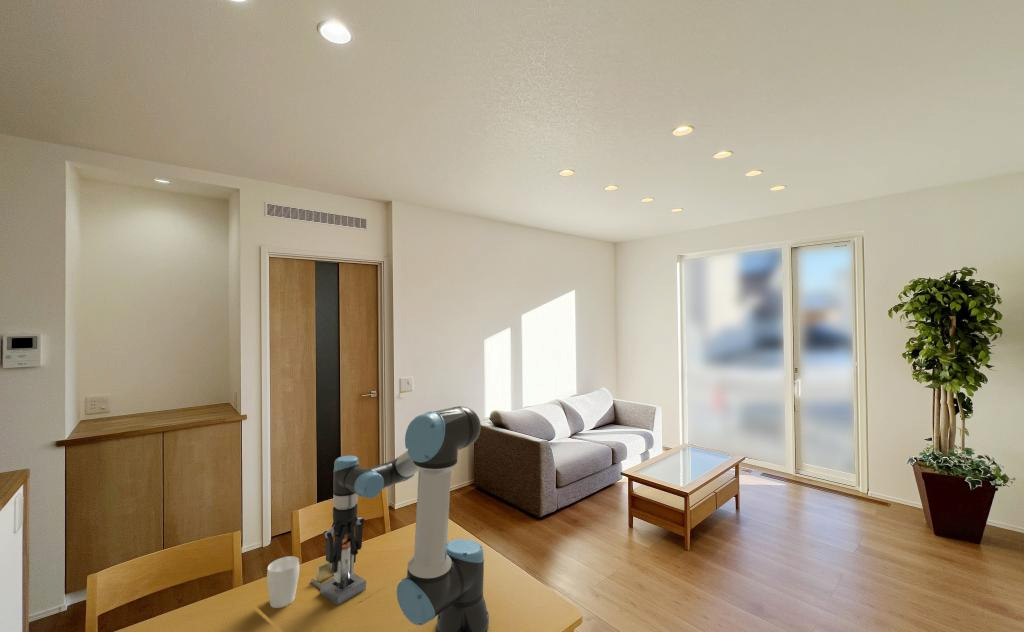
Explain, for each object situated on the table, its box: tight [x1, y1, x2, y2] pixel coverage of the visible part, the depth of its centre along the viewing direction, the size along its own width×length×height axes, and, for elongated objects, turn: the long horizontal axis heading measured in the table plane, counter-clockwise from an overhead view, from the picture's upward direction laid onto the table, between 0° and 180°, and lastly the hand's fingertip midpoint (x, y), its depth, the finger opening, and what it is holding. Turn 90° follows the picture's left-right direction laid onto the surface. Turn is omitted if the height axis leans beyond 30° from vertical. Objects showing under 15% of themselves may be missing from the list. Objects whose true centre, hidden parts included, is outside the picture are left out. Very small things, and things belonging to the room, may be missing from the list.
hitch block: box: [310, 572, 367, 606], centre depth 136 cm, size 18×14×3 cm
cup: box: [266, 555, 301, 609], centre depth 128 cm, size 9×9×12 cm
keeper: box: [315, 560, 334, 583], centre depth 140 cm, size 2×5×5 cm, turn 144°
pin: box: [337, 538, 351, 590], centre depth 133 cm, size 4×4×14 cm
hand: (343, 577), depth 133 cm, fingers closed on pin, 4 cm apart
